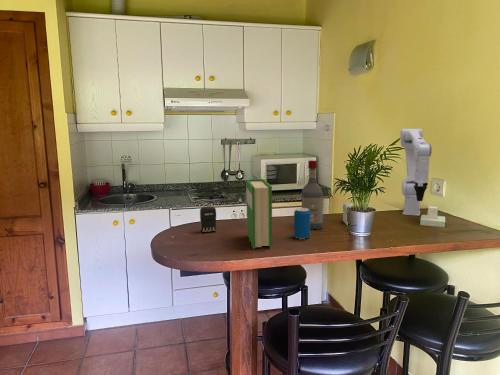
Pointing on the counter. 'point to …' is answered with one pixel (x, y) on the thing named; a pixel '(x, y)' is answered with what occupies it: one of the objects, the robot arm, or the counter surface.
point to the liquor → (313, 198)
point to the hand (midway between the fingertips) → (420, 199)
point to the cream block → (432, 212)
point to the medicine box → (345, 212)
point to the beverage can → (302, 223)
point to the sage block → (433, 221)
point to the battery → (208, 217)
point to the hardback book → (259, 212)
